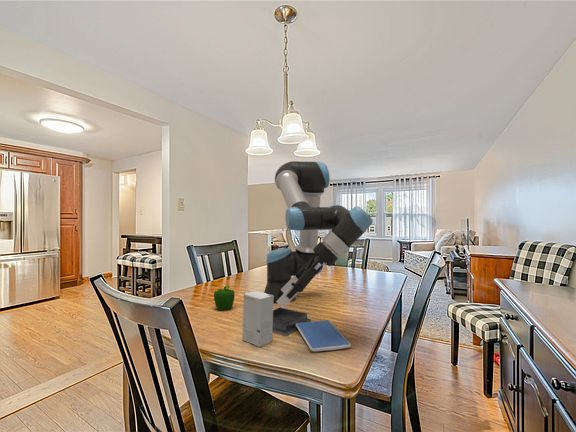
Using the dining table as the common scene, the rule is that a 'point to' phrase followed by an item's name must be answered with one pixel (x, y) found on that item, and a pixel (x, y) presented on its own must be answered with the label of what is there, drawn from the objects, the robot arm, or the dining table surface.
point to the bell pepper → (224, 298)
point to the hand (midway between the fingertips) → (281, 298)
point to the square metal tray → (287, 320)
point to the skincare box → (258, 318)
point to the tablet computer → (322, 336)
